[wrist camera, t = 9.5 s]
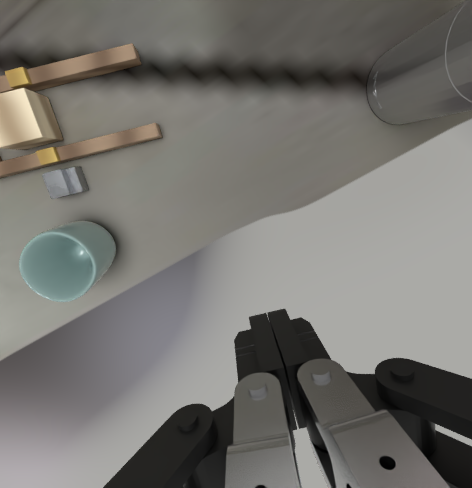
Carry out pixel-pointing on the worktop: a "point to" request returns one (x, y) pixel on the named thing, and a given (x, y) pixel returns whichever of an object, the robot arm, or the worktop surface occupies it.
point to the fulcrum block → (65, 182)
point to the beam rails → (67, 74)
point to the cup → (67, 260)
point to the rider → (26, 120)
